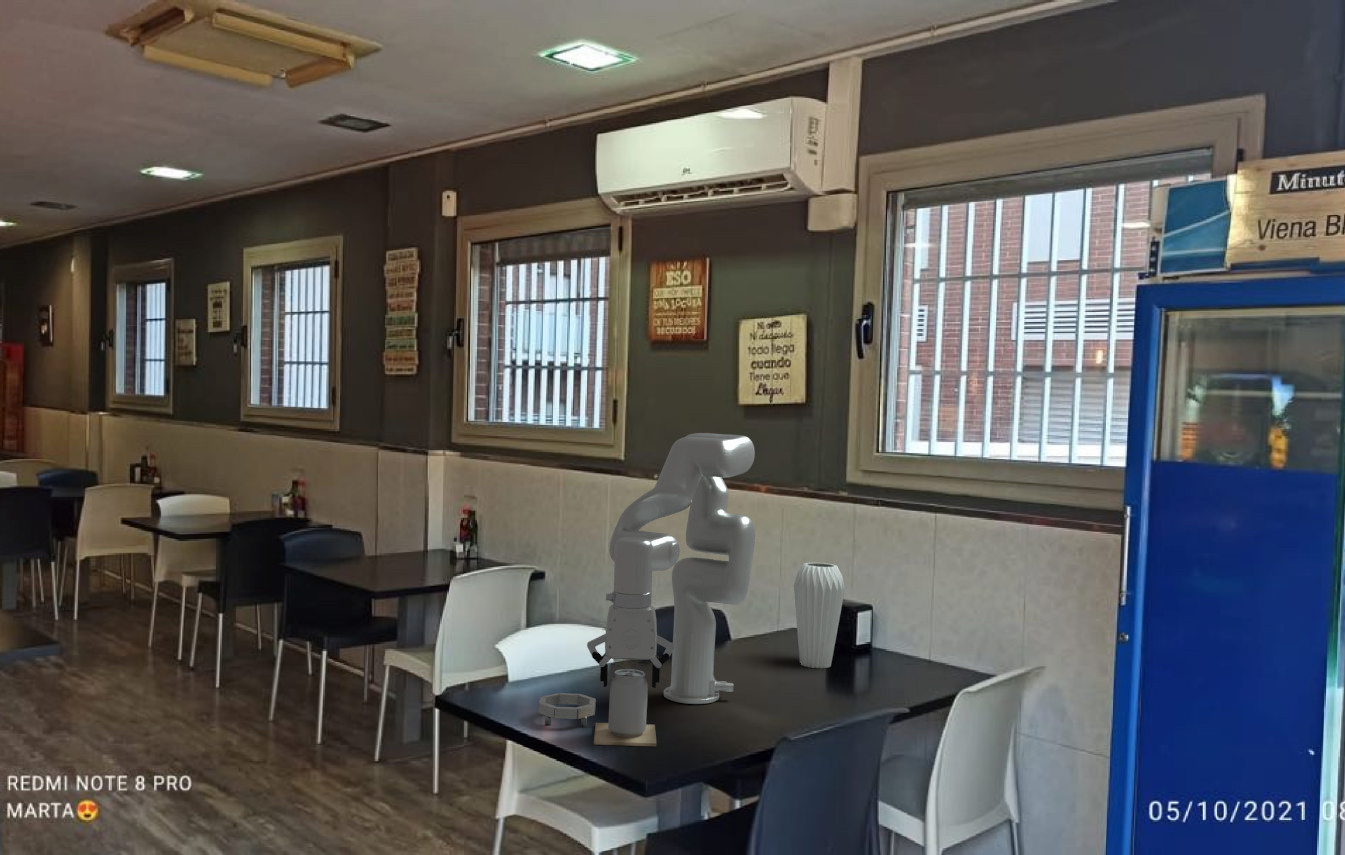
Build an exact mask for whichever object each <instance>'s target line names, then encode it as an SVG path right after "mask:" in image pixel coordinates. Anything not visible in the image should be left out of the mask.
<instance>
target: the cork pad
mask: <svg viewBox="0 0 1345 855" xmlns="http://www.w3.org/2000/svg"><path fill="white" fill-rule="evenodd" d="M656 734H657V733H656V725H655V724H647V723H646V730H645V731H643V732H642V734H640V735H638V736H634V737H623V736H618V735H615V734H613V733H612V731H611V730H610V729H609V728H608V722H595V728H594V736H593V737H594V738H593V745H598V746H599V745H602V746H603V745H604V746H627V747H628V746H630V747H631V746H632V747H657V736H656Z"/></svg>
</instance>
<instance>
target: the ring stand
mask: <svg viewBox="0 0 1345 855" xmlns="http://www.w3.org/2000/svg"><path fill="white" fill-rule="evenodd" d="M596 701H597V699H596V698H594V697H591V696H588V695H585V694H582V693H568V692H567V693H565V692H559V693H558V692H556V693H553V694H547V695H543V696H540V699H539V702H538V713H539V714H540V715H542V716H543V715H544V716H545V717H544V725H545V726H547V727H549V726H551V725H552V719H562V720H565V719H567V720H579V719H580V727H581V728H586V727H587V725H588V717H591V716H595V714H596ZM558 705H570V706H558ZM571 705H572V706H571ZM573 705H574V706H575V705H577V707H576V706H575V707H574V706H573Z"/></svg>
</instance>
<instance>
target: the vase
mask: <svg viewBox="0 0 1345 855" xmlns="http://www.w3.org/2000/svg"><path fill="white" fill-rule="evenodd" d="M793 589H794V592H793V594H794V606H795V616H796V631H797V643H798V644H797V645H798V655H799V656H798V657H799V664H800V663H801V664H800V665H801V666H803V667H807V668H812V669H827V668H831V666H832V661H833V656H834V651H835V644H836V641H837V634H838V628H839V623H840V617H841V613H842V607H843V600H844V595H845V584H844V577H843V574H842V572H841V571H840V569H839V567H838V565H836V564H832V563H829V562H828V563H826V562H804V563H803V564H802V566H801V567H800V568H799V570H798V572H797V574H796V577H795V580H794V584H793Z"/></svg>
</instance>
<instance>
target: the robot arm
mask: <svg viewBox="0 0 1345 855" xmlns="http://www.w3.org/2000/svg"><path fill="white" fill-rule="evenodd" d="M755 454H756V452H755V445H754V443H753V441H752V440H751V439H750V438H749V437H748V436H746V435H742V434H741V435H740V434H739V435H738V434H725V433H724V434H723V433H722V434H721V433H711V432H704V433H703V432H698V433H697V432H695V433H690V434H688V435H686V436H685V437H681V438H678V439H677V440H676V441H675V442H673V444H672V446H671V447H670V451H669V453H668V455H667V457H666V460H665V462H664V464H663V467H662V469H661V471H660V473H659V477H658V478H657V481H656V483H655V486H654V487H653V488H652V489H650V490H649V491H647V492H646V493H643V494H642V495H641V496H639V497H638V498H637V499H636V500H634V501H633V502H632V503H630V505H629V506H627V507H626V508H625V509H624V510H623V512H622V513H621V515H620V516H619V518H618V521H617V523H616V526H615V527H614V529H613V532H612V535H611V538H610V542H609V550H608V551H609V556H610V558H611V560H612V561H613V565H614V566H613V568H614V569H613V591H612V592H610V593H606V595H605V601H609V602H611V603H613V604H611V605H609V608H608V611H607V616H606V617H607V618H606V625H605V633H604V634H602V635H599V636H597V637H596V638H594V639H592V640H590V641H588V642H587V643H586V647H587V649H588V651H589V653H590V655H591V657H592V659H593V660H594V661H595V662H596V663H597V664H598V665H599V667H600V670H599V672H600V678H599V681H600V682H603V686H602V687H603V688H607V687H608V677H609V676H608V672H609V671H608V669H609V667H608V666H609V664H608V663H609V662H610V661H611V659H612V660H634V661H635V660H636V661H637V660H640V661H643V660H644V661H645V660H650V661H651V663H653V664H652V666H651V669H652V670H651V688H653V689H656V687H657V683H660V676H661V674H660V671H661V667H662V666H663V665H664V664H665V663H666V662H667V661H669V659H670V656H671V673H670V674H671V675H670V676H671V677H670V686H668V687H665V689H663V696H664V698H666V699H667V700H668V701H669V700H670V701H672V702H675V703H682V704H687V705H689V704H691V705H703V704H711V703H715V702H716V701H718V700H719V699H720V691H721V692H728V693H729V692H732V693H733V692H734V683H733V682H728V681H726V680H725V681H723V680H721V681H720V680H718V681H717V679H716V678H715V675H714V668H715V665H714V663H715V646H716V645H715V644H716V643H715V642H716V630H717V626H716V625H717V622H716V617H715V614H714V611H713V609H712V608H711V606H710V603H716V604H723V605H730V606H731V605H732V606H733V605H739V604H742V602H744V601H745V599H746V597H747V593H748V590H749V586H750V580H751V578H750V577H751V571H752V566H753V565H752V564H753V559H754V550H755V544H756V530H755V525H754V522H753V521H752V519H751V518H750V517H748V516H747V515H744V514H741V513H730V512H729V513H728V512H727V509H728V503H729V494H730V493H729V489H728V487H727V484H726V483H725V480H724V479H725V478H732V477H735V476H738V475H739V476H740V475H743V474H745V473H747V472H748V471H749V470H750V469H751V467H752V465H753V464H754V461H755V456H756V455H755ZM723 478H724V479H723ZM687 509H689V510H688V515H687V523H686V529H685V542H686V545H687V547H688V548H689V549H690V550H692V551H694V552H698V553H703V554H704V553H705V554H711V555H712V554H713V555H720V556H721V555H722V556H727V557H728V560H721V559H720V560H719V559H713V558H704V557H693V556H692V557H691V556H690V557H685V558H682V559H680V560H678V559H679V558H680V551H681V550H680V544H679V542H678V541H677V539H676V538H675V537H674V536H672V535H670V534H668V533H663V532H662V533H661V532H653V531H648V530H647V531H644V530H641V529H642V528H643V527H644V526H646V525H647V524H649V523H652V522H653V521H655V520H659V519H662V518H665V517H668V516H671V515H674V514H677V513H681V512H682V511H684V510H687ZM672 567H673V568H672ZM671 568H672V571H671V585H672V594H673V602H674V603H673V606H674V607H673V608H674V609H673V610H674V612H673V616H674V617H673V636H672V642H671V641H669V640H667V639H665V638H664V637H662V636H660V635H659V634H658V631H657V630H658V629H657V625H658V624H657V623H658V622H657V615H656V610H655V606H653V605H652V588H653V585H652V584H653V572H654V571H655V572H658V571H661V572H663V571H667V570H669V569H671ZM602 644H604V653H603V654H601V653H600V652H599V651H598V650H597V648H596V647H598V646H599V645H602ZM658 645H660V646H662V647H663V648H664V649H665V650H664V652H663V653H661V655H660V656H658V655H657V648H658Z"/></svg>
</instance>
